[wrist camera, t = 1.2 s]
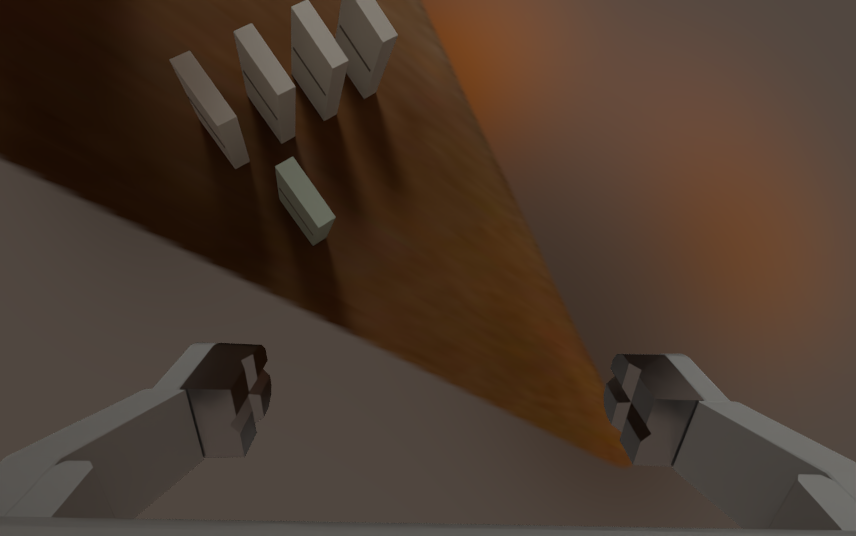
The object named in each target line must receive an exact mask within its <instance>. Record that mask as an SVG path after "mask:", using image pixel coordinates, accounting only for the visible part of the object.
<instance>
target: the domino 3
mask: <svg viewBox="0 0 856 536" xmlns="http://www.w3.org/2000/svg"><path fill="white" fill-rule="evenodd" d="M291 57H292V75H293V77H294V78H295V80H296V81H297V83H298V84H299V86H300V87H301V88H302V90H303V91H304V93H305V94H306V96H307V97H308V99H309V100H310V102H311V103H312V105H313V106H314V107H315V109H316V110H317V112H318V113H319V115H320V116H321V118H322V119H323V121H325V120H327V119H329V118H331V117H333V116H334V115H336V114H337V110H338V106H339V102H340V97H341V93H342V88H343V84H344V79H345V75H346V70H347V66H348V62H349V60H348V59H347V57H346V56H345V54H344V53H343V51H342V50H341V48H340V47H339V45H338V44H337V42H336V41H335V39H334V38H333V36H332V35H331V33H330V32H329V30H328V29H327V27H326V26H325V24H324V23H323V21H322V20H321V18H320V17H319V15H318V14H317V12H316V11H315V9H314V8H313V6H312V5H311V3H310V2H309V0H306V1H303V2H301V3H299V4H296V5H294V6H292V7H291Z"/></svg>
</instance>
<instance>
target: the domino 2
mask: <svg viewBox="0 0 856 536" xmlns="http://www.w3.org/2000/svg"><path fill="white" fill-rule="evenodd" d="M233 32H234V37H235V41H236V46H237V51H238V55H239V60H240V64H241V69H242V73H243V78H244V83H245V87H246V92H247V96H248V97H249V99H250V100H251V101H252V103H253V104H254V106H255V107H256V109H257V110H258V111H259V113H260V114H261V116H262V117H263V118H264V120H265V121H266V123H267V124H268V126H269V127H270V128H271V130H272V131H273V133H274V134H275V135H276V137H277V138H278V140H279V141H280V143H281V144H282V143H284V142H286V141H288V140H290V139H291V138H293V137H295V89H296V86H295V85H294V84H293V82H292V81H291V79H290V78H289V76H288V75H287V73H286V72H285V71H284V69H283V68H282V66H281V65H280V63H279V62H278V60H277V59H276V57H275V56H274V55H273V53H272V52H271V50H270V49H269V47H268V46H267V44H266V43H265V41H264V40H263V39H262V37H261V36H260V34H259V33H258V31H257V30H256V28H255V27H254V25H253V24H252V23H251V24H249V25H246V26H244V27H242V28H240V29H237V30H235V31H233Z"/></svg>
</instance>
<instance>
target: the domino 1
mask: <svg viewBox="0 0 856 536" xmlns="http://www.w3.org/2000/svg"><path fill="white" fill-rule="evenodd" d="M169 60H170V62H171V64H172V66H173V68H174V70H175V72H176V74H177V76H178V78H179V80H180V82H181V84H182V86H183V88H184V90H185V92H186V94H187V96H188V98H189V100H190V102H191V104H192V106H193V108H194V110H195V112H196V114H197V116H198V118H199V120H200V121H201V123H202V124H203V125H204V127H205V128H206V130H207V131H208V132H209V134H210V135H211V136H212V138H213V139H214V141H215V142H216V143H217V145H218V146H219V148H220V149H221V150H222V152H223V153H224V154H225V156H226V157H227V159H228V160H229V161H230V163H231V164H232V165H233V167H234V168H235V169H237V168H239V167H241V166H243V165H244V164H246V163H248V162H250V160H249V156H248V153H247V150H246V146H245V143H244V140H243V136H242V133H241V129H240V126H239V123H238V119H237V116H236V115H235V113H234V112H233V111H232V109H231V108H230V106H229V105H228V104H227V102H226V101H225V99H224V98H223V97H222V95H221V94H220V92H219V91H218V90H217V88H216V87H215V85H214V84H213V83H212V81H211V80H210V78H209V77H208V76H207V74H206V73H205V71H204V70H203V69H202V67H201V66H200V64H199V63H198V62H197V60H196V59H195V57H194V56H193V55H192V53H191V52H190V51H188V52H185V53H183V54H181V55H179V56H176V57H174V58H172V59H169Z"/></svg>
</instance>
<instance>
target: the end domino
mask: <svg viewBox="0 0 856 536" xmlns="http://www.w3.org/2000/svg"><path fill="white" fill-rule="evenodd" d="M397 36H398V34H397V33H396V31H395V30H394V28H393V27H392V25H391V24H390V22H389V21H388V19H387V17H386V16H385V14H384V13H383V11H382V10H381V8H380V7H379V5H378V4H377V2H376V1H375V0H342V1H341V7H340V13H339V20H338V26H337V32H336V39H335V41H336V42H337V44H338V45H339V47H340V48H341V50H342V51H343V53H344V54H345V56H346V57H347V59H348V60H349V62H348V66H347V70H346V73H347V75H348V76H349V78H350V79H351V81H352V82H353V84H354V85H355V87H356V88H357V90H358V91H359V93H360V94H361V96H362V97H363V99H365V98H367V97H369V96H371V95H372V94H374V93H376V91H377V88H378V85H379V83H380V80H381V78H382V75H383V72H384V70H385V67H386V65H387V62H388V59H389V57H390V54H391V52H392V49H393V46H394V44H395V41H396V38H397Z"/></svg>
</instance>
